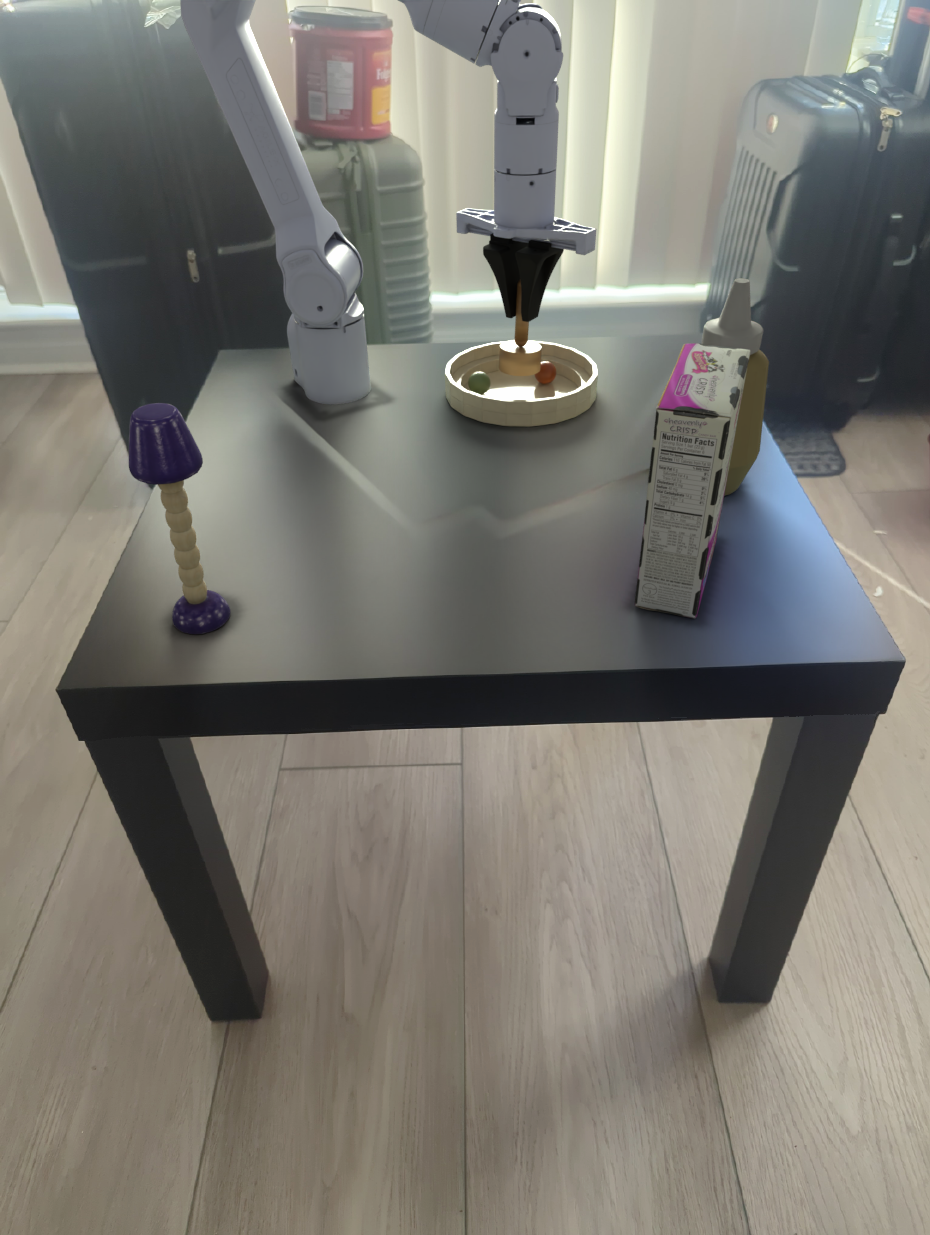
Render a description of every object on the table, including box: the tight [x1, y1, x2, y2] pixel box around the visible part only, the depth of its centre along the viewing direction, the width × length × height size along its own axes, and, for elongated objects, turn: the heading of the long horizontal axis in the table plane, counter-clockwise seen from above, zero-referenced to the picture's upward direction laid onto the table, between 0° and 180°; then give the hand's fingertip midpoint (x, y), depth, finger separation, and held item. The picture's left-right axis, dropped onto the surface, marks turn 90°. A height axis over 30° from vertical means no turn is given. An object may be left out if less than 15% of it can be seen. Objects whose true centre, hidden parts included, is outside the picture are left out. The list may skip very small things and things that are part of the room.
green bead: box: [468, 372, 491, 395], centre depth 91 cm, size 2×2×2 cm
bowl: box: [444, 340, 599, 427], centre depth 91 cm, size 16×16×4 cm
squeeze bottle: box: [700, 277, 770, 497], centre depth 72 cm, size 8×8×18 cm
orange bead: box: [534, 361, 556, 384], centre depth 93 cm, size 2×2×2 cm
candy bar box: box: [634, 342, 750, 619], centre depth 62 cm, size 11×5×16 cm, turn 160°
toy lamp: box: [128, 402, 232, 635], centre depth 59 cm, size 5×5×17 cm
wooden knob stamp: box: [499, 280, 542, 376], centre depth 87 cm, size 4×4×9 cm
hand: (521, 317), depth 87 cm, fingers closed on wooden knob stamp
